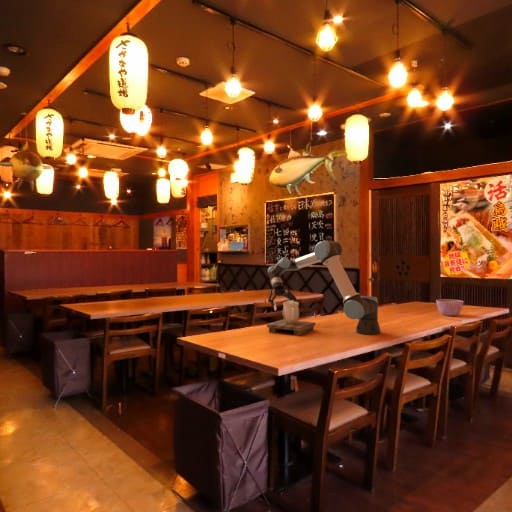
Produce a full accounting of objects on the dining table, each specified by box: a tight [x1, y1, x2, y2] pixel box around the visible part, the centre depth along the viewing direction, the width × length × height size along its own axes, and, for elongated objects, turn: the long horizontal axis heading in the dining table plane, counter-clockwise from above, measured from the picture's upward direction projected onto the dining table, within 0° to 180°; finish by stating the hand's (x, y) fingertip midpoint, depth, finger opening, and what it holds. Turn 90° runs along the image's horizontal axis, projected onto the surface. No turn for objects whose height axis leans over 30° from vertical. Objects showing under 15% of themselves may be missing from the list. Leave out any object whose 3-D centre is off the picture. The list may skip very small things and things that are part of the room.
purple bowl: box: [435, 298, 465, 317], centre depth 335 cm, size 20×20×12 cm
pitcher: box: [282, 299, 300, 324], centre depth 278 cm, size 11×18×14 cm, turn 4°
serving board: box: [266, 318, 316, 336], centre depth 278 cm, size 24×22×5 cm
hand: (285, 309), depth 288 cm, fingers open, 13 cm apart
